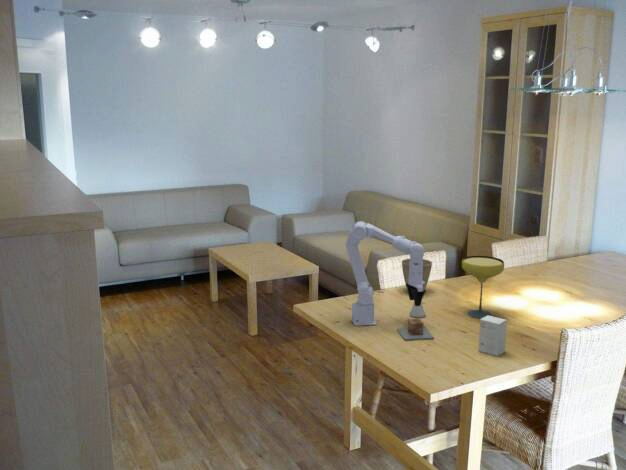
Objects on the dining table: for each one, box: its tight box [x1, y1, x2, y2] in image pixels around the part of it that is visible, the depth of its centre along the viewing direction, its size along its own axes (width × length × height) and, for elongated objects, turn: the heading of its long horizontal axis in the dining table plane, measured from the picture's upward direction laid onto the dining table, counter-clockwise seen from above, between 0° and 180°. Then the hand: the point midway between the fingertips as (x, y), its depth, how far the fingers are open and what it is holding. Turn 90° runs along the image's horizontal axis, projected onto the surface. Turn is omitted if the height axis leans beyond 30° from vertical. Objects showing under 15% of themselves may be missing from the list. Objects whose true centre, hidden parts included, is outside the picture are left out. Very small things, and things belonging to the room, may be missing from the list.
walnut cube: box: [407, 318, 425, 335], centre depth 256 cm, size 5×5×5 cm
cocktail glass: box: [461, 255, 505, 320], centre depth 277 cm, size 18×18×25 cm
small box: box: [478, 315, 507, 357], centre depth 238 cm, size 8×6×13 cm
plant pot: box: [401, 258, 433, 291], centre depth 309 cm, size 15×15×16 cm
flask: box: [409, 301, 427, 319], centre depth 278 cm, size 7×7×10 cm
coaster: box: [396, 326, 435, 342], centre depth 256 cm, size 12×12×1 cm
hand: (414, 302), depth 265 cm, fingers open, 7 cm apart
